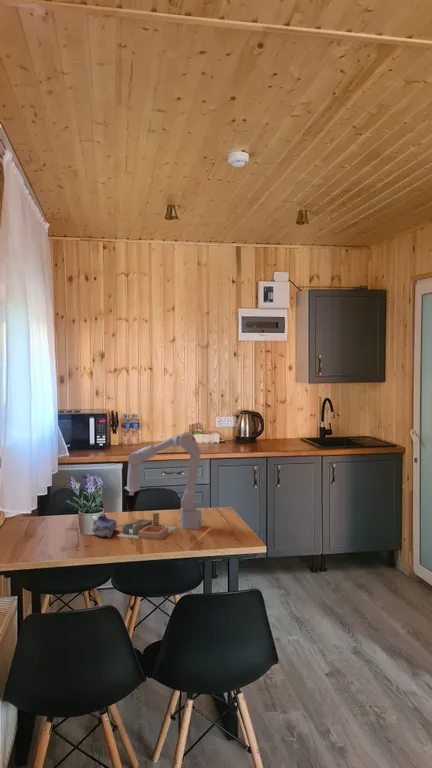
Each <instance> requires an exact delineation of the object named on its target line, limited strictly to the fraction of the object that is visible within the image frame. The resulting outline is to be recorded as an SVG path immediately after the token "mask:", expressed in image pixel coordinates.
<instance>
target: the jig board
mask: <svg viewBox="0 0 432 768" xmlns="http://www.w3.org/2000/svg"><path fill="white" fill-rule="evenodd" d="M150 526H153V523H152V525H150ZM159 527H168V533H167V534H166V535H165V536H163V537H162V538H161V539H155V540H159V541H161V540H162V539H163V538H165V537H166V536H167V535H169V534H170V533H172V532H173V531H174V530H175V529H177V526H166V525H165V524H160V523H159ZM139 531H140V525H139V524H134V525H133V529H129V523H126V522H125V523H123V524H122V532H120V533H118V534H117V535H116V536H115V537H122V538H123V537H124V538H133V539H134V538H135V539H139V538H138V532H139ZM144 539H146V540H151V539H150V538H143V540H144Z"/></svg>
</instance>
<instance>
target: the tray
mask: <svg viewBox="0 0 432 768" xmlns="http://www.w3.org/2000/svg"><path fill="white" fill-rule="evenodd" d="M167 533H168V527H159V526H146V527H145V528H143V529H142V530H140V531H139V532H138V538H137V539H144V538H150V539H149V540H156V539H161V538H162V537H163V536H165V535H166V534H167ZM167 535H168V534H167ZM167 535H166V536H167ZM166 536H165V537H166ZM163 538H164V537H163ZM163 538H162V539H163ZM162 539H161V540H162Z"/></svg>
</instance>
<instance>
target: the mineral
mask: <svg viewBox="0 0 432 768" xmlns="http://www.w3.org/2000/svg"><path fill="white" fill-rule="evenodd" d="M117 529H118V527H117V521H116V519H114V518H113V519H112V518H108V517H107V515H106V513H101V515H100V516H99V517H98V519H97V520H95V519H94V520H93V527H92V529H91V531H92V533H93V534H94V535H95V536H96V537H101V538H104V537H107V538H110V537H111V538H112V536H113V533H114V532H116V530H117Z"/></svg>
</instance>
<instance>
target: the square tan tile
mask: <svg viewBox="0 0 432 768" xmlns="http://www.w3.org/2000/svg"><path fill="white" fill-rule="evenodd" d="M128 524H129V529H133V525H134V524H139V525H140V530H142V529H143V528H145V527H146V526H150V525H152V524H153V519H140V518H136V519H134V520H133V521H131V522H129V523H128Z"/></svg>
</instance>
